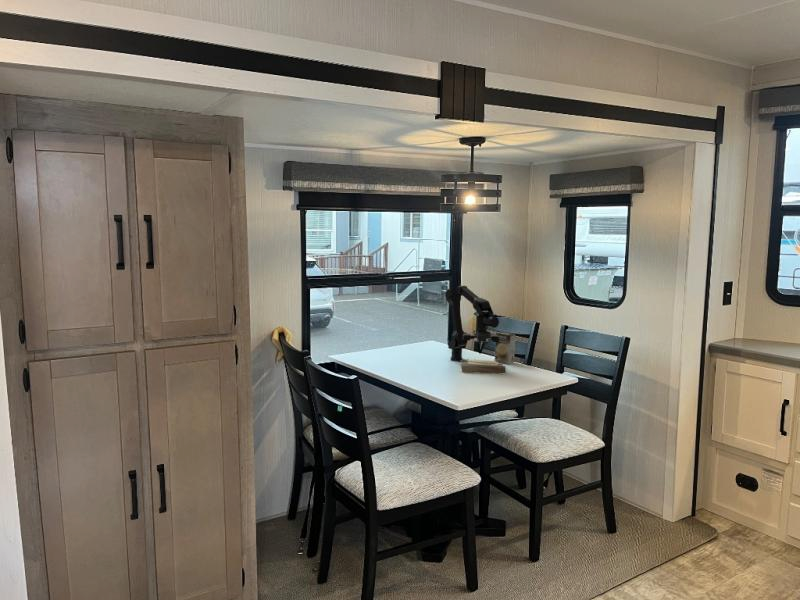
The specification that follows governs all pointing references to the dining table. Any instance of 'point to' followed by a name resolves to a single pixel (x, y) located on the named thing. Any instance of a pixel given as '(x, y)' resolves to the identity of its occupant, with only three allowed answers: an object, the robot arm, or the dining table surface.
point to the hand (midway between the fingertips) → (480, 353)
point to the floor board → (482, 368)
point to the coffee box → (505, 348)
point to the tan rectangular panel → (482, 362)
